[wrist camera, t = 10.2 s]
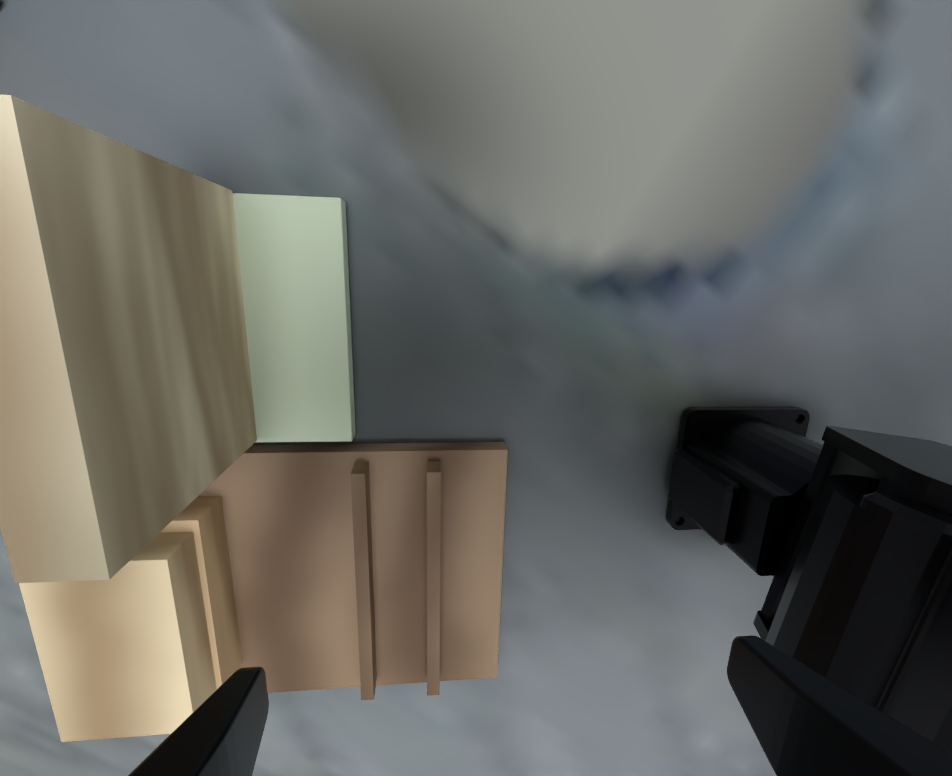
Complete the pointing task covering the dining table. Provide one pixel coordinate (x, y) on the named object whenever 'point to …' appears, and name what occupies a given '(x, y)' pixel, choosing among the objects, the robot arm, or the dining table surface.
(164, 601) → the pine offcut
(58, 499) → the birch board
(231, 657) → the oak offcut
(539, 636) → the dining table surface
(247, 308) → the sage pad
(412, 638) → the walnut stand
